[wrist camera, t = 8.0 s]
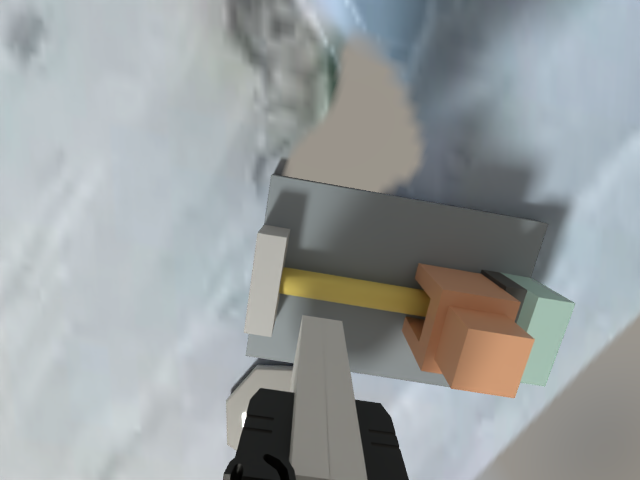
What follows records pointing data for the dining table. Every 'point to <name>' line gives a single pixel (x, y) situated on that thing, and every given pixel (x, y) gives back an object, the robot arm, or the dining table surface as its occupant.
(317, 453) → the robot arm
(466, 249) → the linear slide rail
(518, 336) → the sleeve
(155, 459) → the dining table surface
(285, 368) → the wineglass
